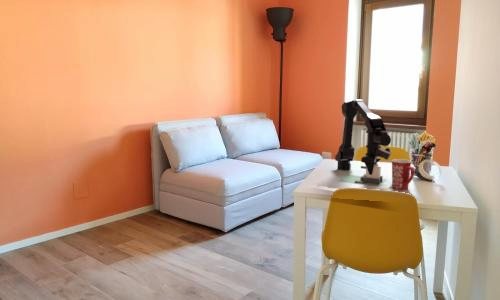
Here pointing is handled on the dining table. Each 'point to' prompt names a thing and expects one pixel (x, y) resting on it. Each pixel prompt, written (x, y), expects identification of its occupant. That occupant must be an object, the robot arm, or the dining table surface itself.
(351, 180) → the board
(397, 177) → the mug
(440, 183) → the dining table surface
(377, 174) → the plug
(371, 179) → the header
